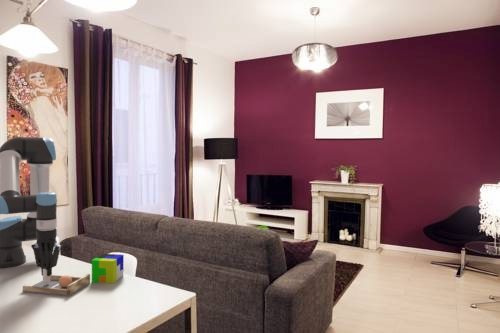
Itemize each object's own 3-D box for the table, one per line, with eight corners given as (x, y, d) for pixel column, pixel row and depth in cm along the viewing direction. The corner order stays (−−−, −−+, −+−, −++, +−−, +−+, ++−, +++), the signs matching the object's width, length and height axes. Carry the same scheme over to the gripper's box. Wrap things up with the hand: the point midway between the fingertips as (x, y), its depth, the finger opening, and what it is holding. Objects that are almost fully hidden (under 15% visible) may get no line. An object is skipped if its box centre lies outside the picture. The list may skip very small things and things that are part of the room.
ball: (76, 279, 151) (69, 287, 152) (68, 271, 151) (61, 278, 152) (69, 284, 146) (62, 292, 147) (61, 275, 146) (53, 283, 147)
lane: (47, 279, 159) (47, 278, 159) (89, 283, 156) (89, 282, 156) (22, 291, 145) (22, 290, 145) (69, 296, 142) (69, 294, 142)
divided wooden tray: (47, 278, 159) (47, 270, 158) (89, 282, 156) (89, 274, 155) (22, 290, 145) (22, 281, 145) (69, 294, 142) (69, 286, 142)
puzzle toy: (123, 275, 166) (123, 254, 166) (113, 283, 156) (113, 261, 156) (103, 274, 167) (103, 253, 167) (91, 282, 157) (91, 260, 157)
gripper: (26, 229, 147) (26, 285, 148) (54, 231, 145) (54, 287, 146) (39, 226, 155) (39, 278, 156) (66, 227, 153) (66, 281, 154)
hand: (46, 282), depth 151 cm, fingers closed
